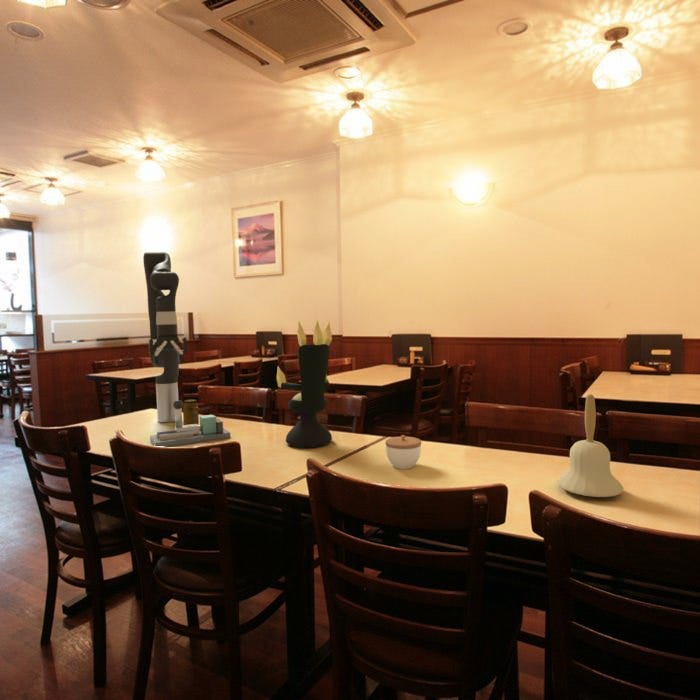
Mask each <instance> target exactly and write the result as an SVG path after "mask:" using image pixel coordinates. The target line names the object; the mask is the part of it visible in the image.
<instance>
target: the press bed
mask: <svg viewBox="0 0 700 700" xmlns="http://www.w3.org/2000/svg"><path fill="white" fill-rule="evenodd" d="M216 430H217V432H214V433H206V434H203V433H202V432H201V431H199V434H193V431H186V432H179V433H175V429H172V430H163V431H156V434H153V435H150V436H149V441H150V443H151V444H152V445H153V446H154V445H155V446H168V447H169V448H170V447H178V446H182V445H190V444H197V443H204V442H205V443H206V442H213V441H218V440H224V439H231V432H230V431H228V430H227V429H226V428H224V422H223V420H221V419H219V418H217V417H216ZM168 447H167V448H168Z"/></svg>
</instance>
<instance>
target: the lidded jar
mask: <svg viewBox="0 0 700 700" xmlns="http://www.w3.org/2000/svg"><path fill="white" fill-rule="evenodd" d="M421 445H422V441H421V439H420V438H417V437H413V436H406V435H404V434H402V435H400V436H394V437H393V436H392V437H390V438H389V437H388V438H387V439H386V440H385V448H386V449H385V452H386V456H387V458H388V460H389V462H390V463H391V464H392V465H393V467H394V468H397V469H399V470H400V469H402V470H406V469H408V470H409V469H411V468H414V466H415V465H416V464H417V463H418V461H419V460H420V457H421V450H422V447H421Z"/></svg>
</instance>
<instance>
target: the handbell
mask: <svg viewBox="0 0 700 700" xmlns="http://www.w3.org/2000/svg"><path fill="white" fill-rule="evenodd" d="M595 399H596V398H595V396H594V395H593V394H592V393H590V394H587V395H586V398H585V403H584V404H585V406H584V428H585V434H586V439H583V440H582V439H581V440H578V441H576V442H574V444H573V445H572V446H571V447H570V450H569V466H568V469H567V470H566V471H565V472H563V473H562V474H561V475H560V476H558V478H557V479H556V483H557V485H558V486H559V488H561V489H562V490H564V491H567V492H570V493H573V494H577V495H580V496H585V497H586V496H587V497H594V498H609V497H616V496H619V495H620V494H622V493H623V491H624V489H625V487H624V486H623V485H622V484H621V482H620V481H619V480H618V479H617V478H616V477H615V476H614V475H613V473H612V472H611V452H610V451H609V448H608V447H607V446H606V445H605V444H603V442H600V441H596V440H595V439H594V437H595V436H594V435H595V430H596V429H595V428H596V420H597V419H596V416H597V415H596V412H597V410H596V401H595Z"/></svg>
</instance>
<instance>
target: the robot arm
mask: <svg viewBox="0 0 700 700" xmlns="http://www.w3.org/2000/svg"><path fill="white" fill-rule="evenodd" d="M142 258H143V260H142V261H143V269H144V276H145V282H146V283H145V284H146V292H147V293H146V294H147V311H148V320H149V332H150V333H149V335H150V336H149V337H150V338H149V339H148V354H149V357H150V362H151V364H152V366H153V367H154V368H163V373H162V374H160V375H158V376H156V377H155V390H156V393H155V394H156V414H157V422H158V423H171V422H173V423H174V422H175V408H174V407H173V403H174V401H176V400H179V388H178V385H179V384H178V378H179V375H180V374H179V371H180V370H179V369H180V367H179V366H180V365H182V363H183V362H184V354H185V353H186V354H187V353H188V343H187V341H188V340H187V337H179V336H178V334H179V333H178V318H177V312H176V311H177V310H176V309H177V308H176V307H177V306H176V297H177V292H178V288H179V283H180V278H179V275H178V274H177V272H175V271H172V264H171V263H172V261H171V257H170V254H169V253H168V252H166V251H165V252H164V251H146V252H144V253H143V257H142ZM163 291H168V292H169V293H168V294H167V295H166V294H165V293H164V292H163ZM179 342H180V344H181V345H182V349H181V348H180V347H179V346H178V343H179Z"/></svg>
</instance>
